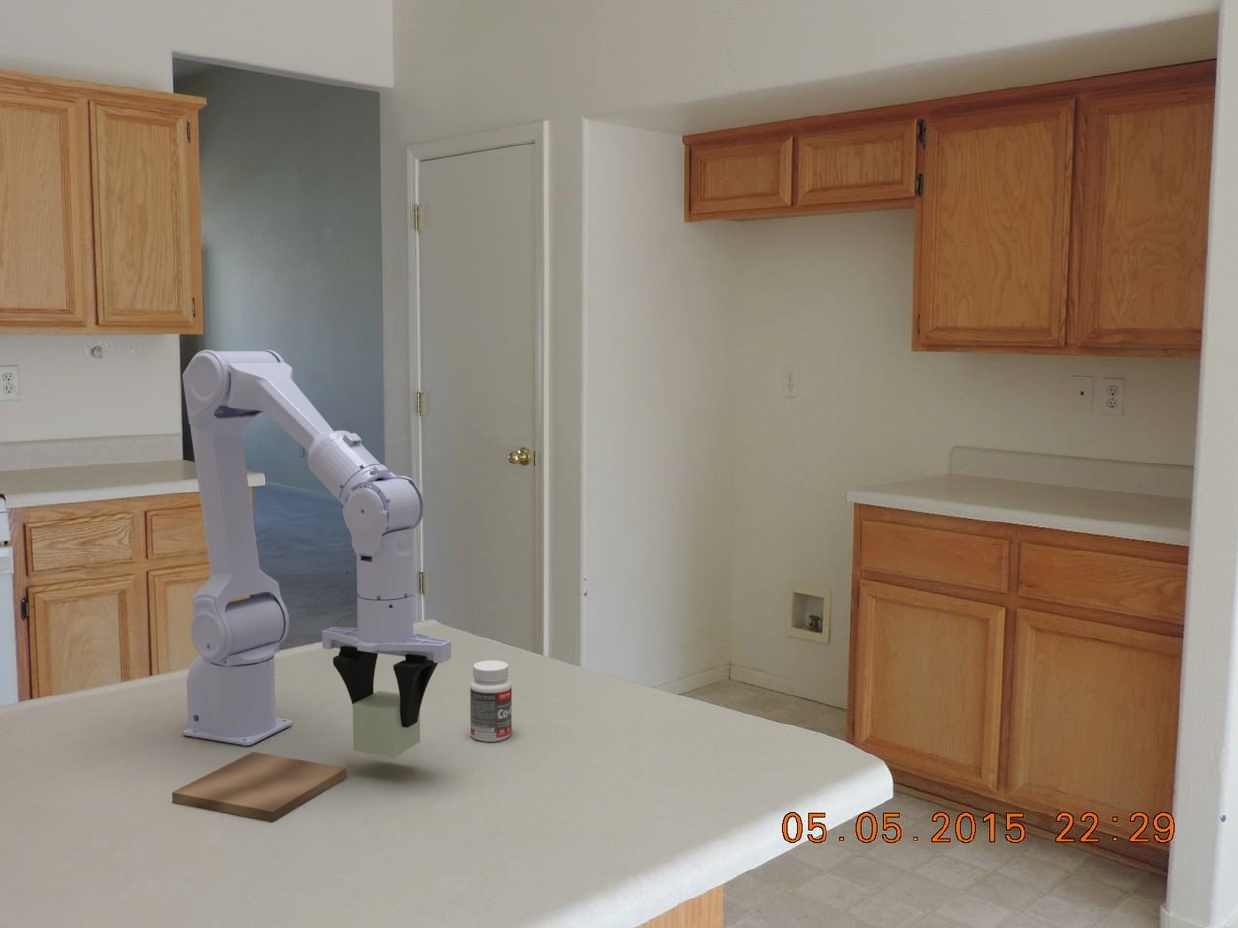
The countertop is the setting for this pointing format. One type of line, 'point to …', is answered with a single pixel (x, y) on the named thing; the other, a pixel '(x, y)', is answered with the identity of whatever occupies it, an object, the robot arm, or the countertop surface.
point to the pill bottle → (491, 702)
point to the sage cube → (382, 726)
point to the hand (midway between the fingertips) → (386, 720)
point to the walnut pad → (260, 786)
